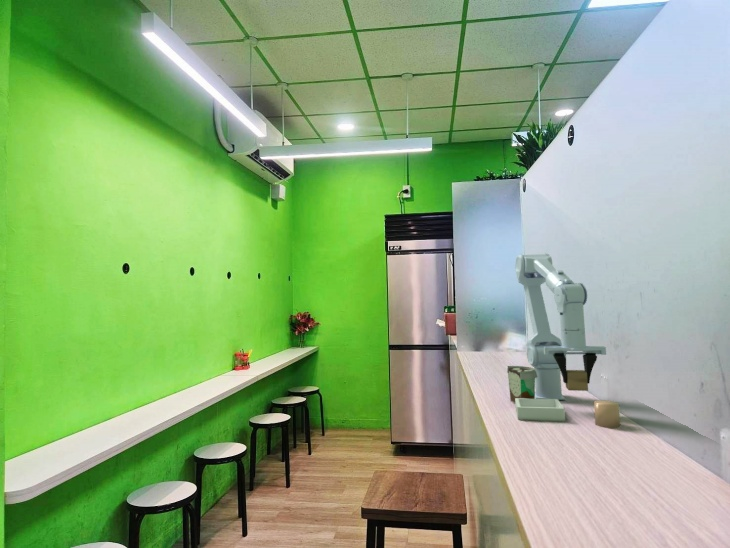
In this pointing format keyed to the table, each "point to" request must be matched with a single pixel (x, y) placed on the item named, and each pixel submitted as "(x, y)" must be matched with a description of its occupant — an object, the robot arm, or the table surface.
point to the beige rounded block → (607, 414)
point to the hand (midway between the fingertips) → (576, 382)
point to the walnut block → (577, 380)
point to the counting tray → (539, 409)
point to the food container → (521, 382)
